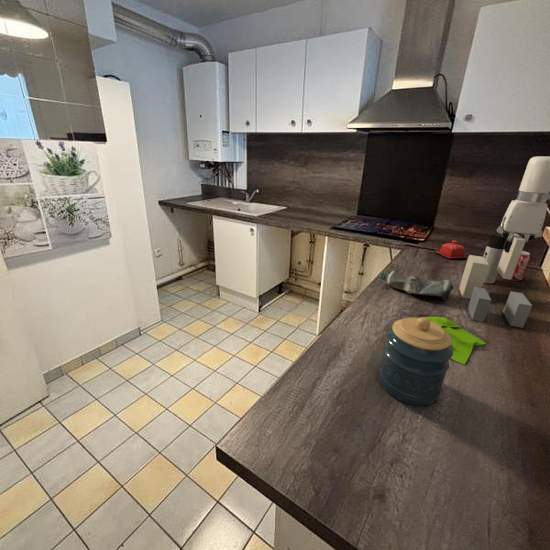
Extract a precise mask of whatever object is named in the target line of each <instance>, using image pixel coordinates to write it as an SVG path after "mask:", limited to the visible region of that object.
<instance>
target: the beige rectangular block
mask: <svg viewBox="0 0 550 550" xmlns="http://www.w3.org/2000/svg"><path fill="white" fill-rule="evenodd" d="M488 267H489V264H488V262H487V261H486V259H485V258H484V257H483V256H479V255H471V254H469V255H468V257H467V260H466V264H465V267H464V271H463V274H462V277H461V281H460V284H459V287H458V289H459V292H460V295H461V298H462V299H466V300H467V299H468V300H470V299H471V295H472V292H473V289H474V287H478V288H483V285H484V283H483V282H484V279H485V276H486V273H487V270H488Z"/></svg>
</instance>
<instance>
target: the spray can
mask: <svg viewBox="0 0 550 550" xmlns="http://www.w3.org/2000/svg"><path fill="white" fill-rule="evenodd" d="M505 241H506V239H505V238H504V236H503V235H502V234H500V233H498V232H492V233H490V235H489V238H488V241H487V244H486V247H485V250H484V253H483V256H482V257H484V258H485V259H486V261H487V262H488V264H489V267H488V270H487V273H486V276H485V279H484V282H483V284H487V285H490V284H491V285H492V284H494V283H496V281H497V278H498V274H499V272H498V271H497V267H498V264H499V262H500V259H501V256H502V253H503V250H504V249H503V247H504V244H505Z"/></svg>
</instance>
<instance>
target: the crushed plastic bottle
mask: <svg viewBox="0 0 550 550" xmlns="http://www.w3.org/2000/svg"><path fill="white" fill-rule="evenodd" d="M380 279H381V280H383V281H384V282H387V286H388V287H390V288H394V289H396V290H397V289H398V290H401V291H404V292H406V293H407V294H409V295H421V296H429V297H440V298H441V299H442V300H443V301H446V300H447V299H449V296H450V294H451V292H452V291H453V289H454V286H453V283H452V281H451V280H449V279H444V280H441V281H440V280H428V279H424V278H422V277H419V276H417V275H414V274H413V275H409V276H405V275H403V274H401V273H398V272H397V271H396V270H392V271H390V273H389V272H382V273H381V274H380Z"/></svg>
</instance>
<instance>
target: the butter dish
mask: <svg viewBox="0 0 550 550" xmlns="http://www.w3.org/2000/svg"><path fill="white" fill-rule="evenodd" d="M435 253H437V254H439V255H441V256H442V257H445V258H447V259H450V260H453V259H468V257H469V255H466V248H465V247H464V246H463V245H461V244H458V240H454V239H453V240H452V241H451V242H448V243H444V244H442V245H441V247H440V250H435Z"/></svg>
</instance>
